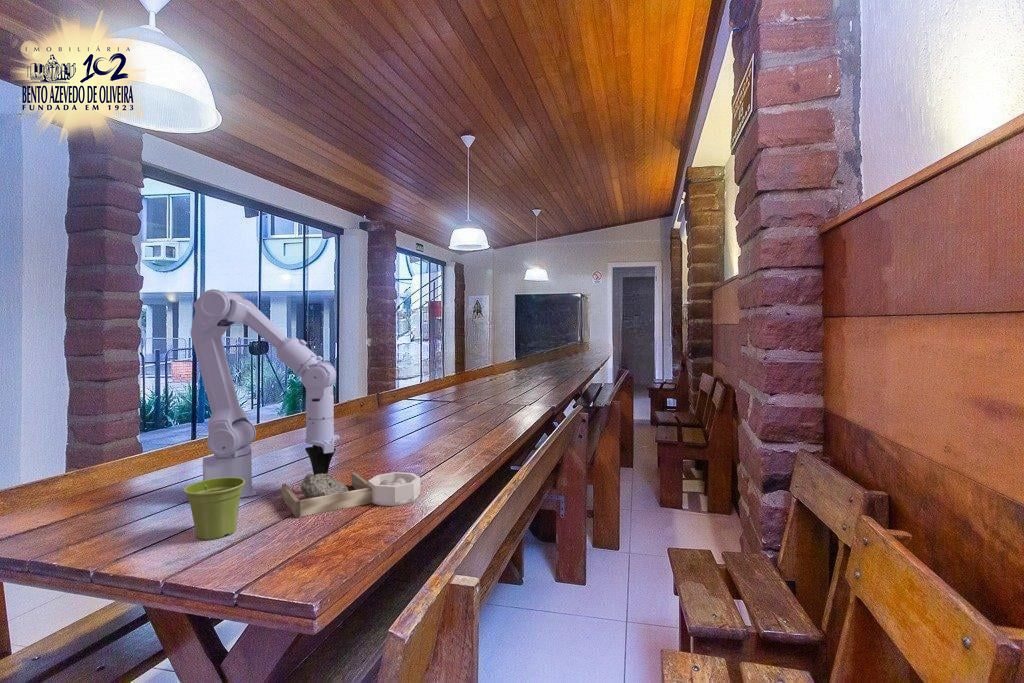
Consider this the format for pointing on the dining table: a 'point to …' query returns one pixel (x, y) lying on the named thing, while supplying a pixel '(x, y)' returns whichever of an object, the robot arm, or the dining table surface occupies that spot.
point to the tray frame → (329, 499)
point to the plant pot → (215, 506)
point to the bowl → (395, 489)
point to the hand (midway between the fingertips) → (320, 479)
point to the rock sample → (321, 485)
